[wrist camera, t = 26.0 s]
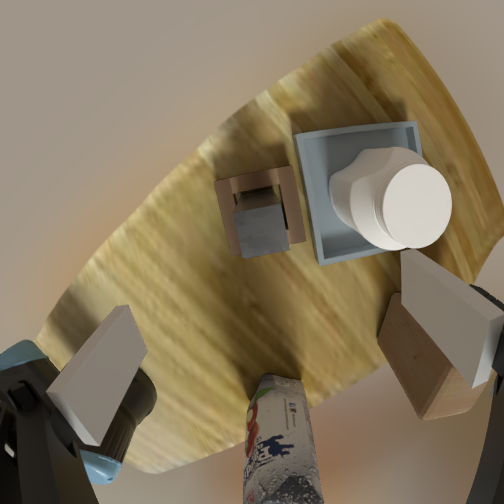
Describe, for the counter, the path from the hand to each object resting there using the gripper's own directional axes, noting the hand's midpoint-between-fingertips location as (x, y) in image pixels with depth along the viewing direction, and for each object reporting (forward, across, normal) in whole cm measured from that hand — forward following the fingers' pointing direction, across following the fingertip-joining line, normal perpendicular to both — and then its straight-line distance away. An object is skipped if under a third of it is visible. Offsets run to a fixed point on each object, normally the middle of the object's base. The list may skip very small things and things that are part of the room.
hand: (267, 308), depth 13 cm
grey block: (+29, 0, 0) cm, 29 cm away
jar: (+28, +15, 0) cm, 32 cm away
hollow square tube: (+29, 0, 0) cm, 29 cm away
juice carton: (+29, -4, -33) cm, 44 cm away
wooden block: (+29, +21, -23) cm, 42 cm away
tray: (+29, +15, 0) cm, 32 cm away
